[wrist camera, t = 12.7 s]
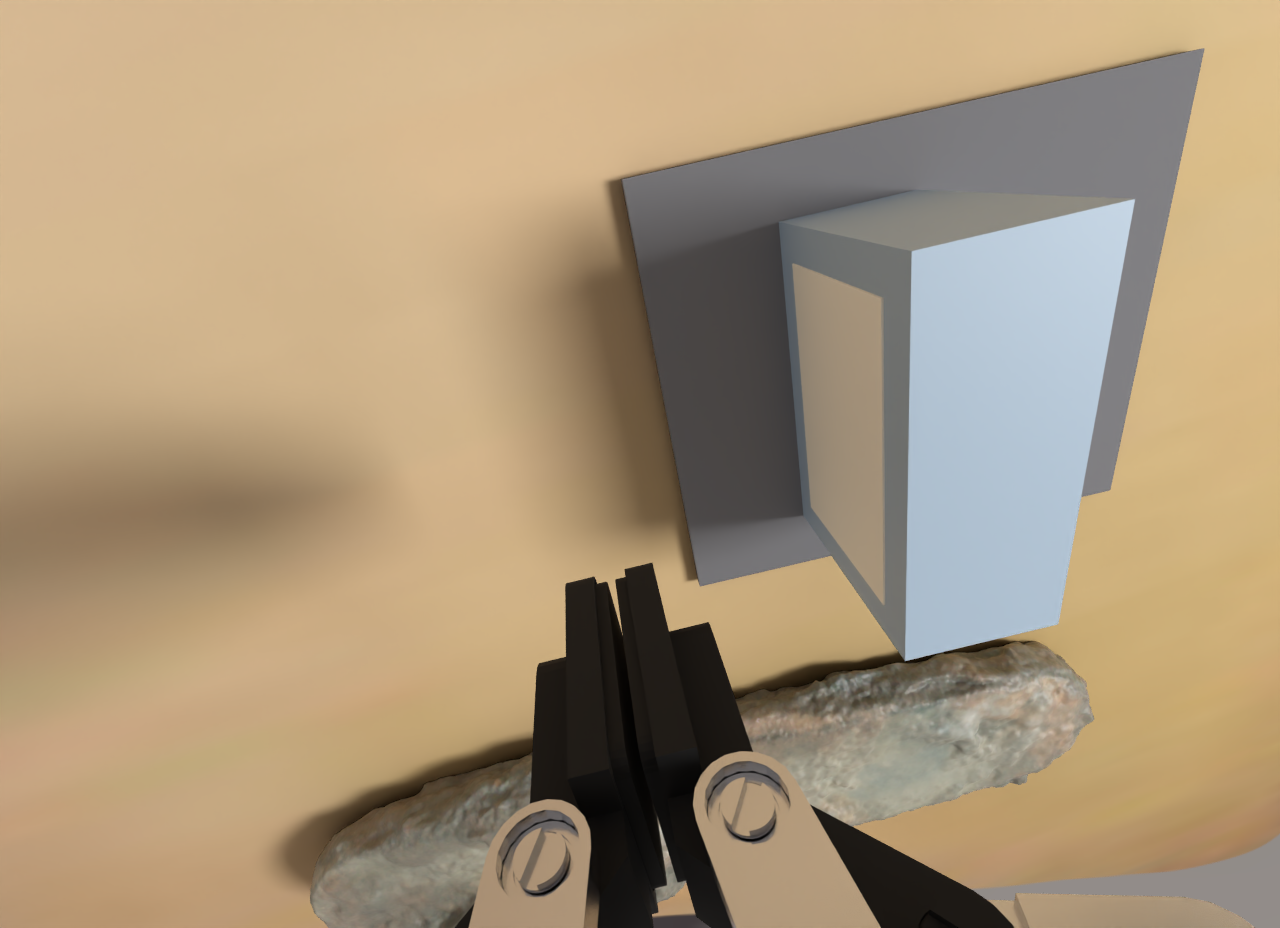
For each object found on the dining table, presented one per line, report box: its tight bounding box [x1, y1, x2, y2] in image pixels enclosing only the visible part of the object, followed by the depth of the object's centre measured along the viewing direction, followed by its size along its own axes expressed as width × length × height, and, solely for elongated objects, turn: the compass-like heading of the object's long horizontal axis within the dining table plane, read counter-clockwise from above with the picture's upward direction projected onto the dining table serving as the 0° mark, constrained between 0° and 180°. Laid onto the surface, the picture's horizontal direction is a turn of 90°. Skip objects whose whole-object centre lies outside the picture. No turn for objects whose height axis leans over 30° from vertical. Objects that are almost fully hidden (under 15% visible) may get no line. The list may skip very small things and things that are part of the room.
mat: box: [621, 48, 1204, 586], centre depth 19 cm, size 14×16×1 cm
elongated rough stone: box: [310, 641, 1094, 928], centre depth 26 cm, size 35×5×10 cm
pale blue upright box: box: [779, 190, 1135, 661], centre depth 15 cm, size 10×4×7 cm, turn 12°
